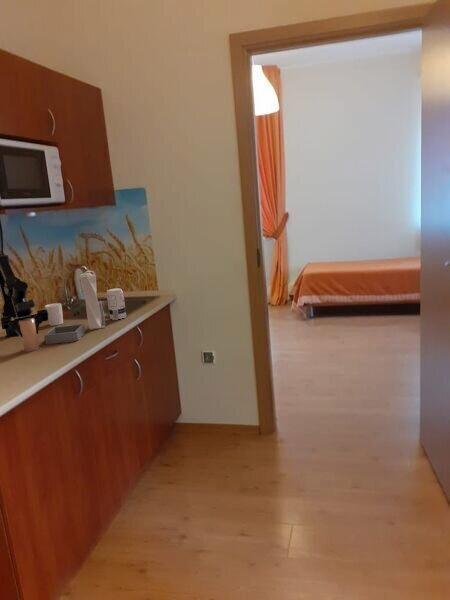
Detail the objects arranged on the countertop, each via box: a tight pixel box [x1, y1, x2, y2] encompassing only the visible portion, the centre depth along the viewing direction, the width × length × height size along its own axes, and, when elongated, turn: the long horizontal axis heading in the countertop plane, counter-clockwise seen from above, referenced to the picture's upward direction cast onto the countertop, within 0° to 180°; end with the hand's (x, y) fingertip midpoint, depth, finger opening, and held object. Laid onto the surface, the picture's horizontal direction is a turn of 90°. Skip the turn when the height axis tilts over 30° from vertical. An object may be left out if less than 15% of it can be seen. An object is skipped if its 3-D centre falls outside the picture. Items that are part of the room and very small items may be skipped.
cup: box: [19, 318, 40, 353], centre depth 200 cm, size 6×6×13 cm
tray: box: [44, 323, 86, 345], centre depth 214 cm, size 14×14×4 cm
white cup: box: [44, 302, 64, 327], centre depth 243 cm, size 8×8×10 cm
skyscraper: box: [79, 270, 107, 331], centre depth 225 cm, size 8×8×28 cm
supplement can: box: [106, 287, 127, 321], centre depth 241 cm, size 8×8×15 cm
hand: (29, 335), depth 199 cm, fingers closed on cup, 6 cm apart
